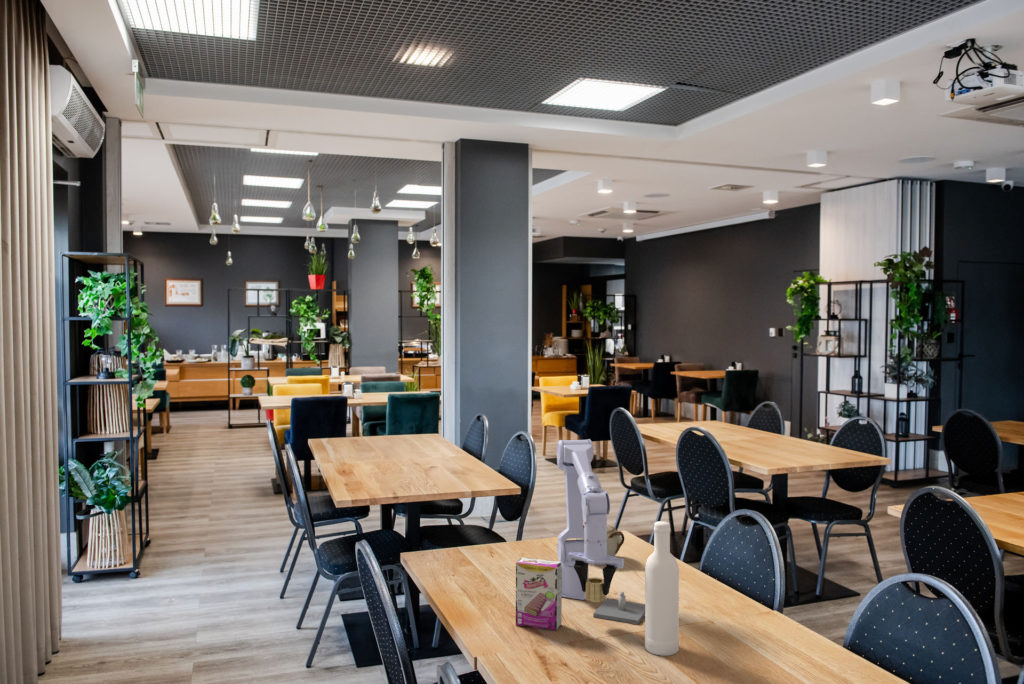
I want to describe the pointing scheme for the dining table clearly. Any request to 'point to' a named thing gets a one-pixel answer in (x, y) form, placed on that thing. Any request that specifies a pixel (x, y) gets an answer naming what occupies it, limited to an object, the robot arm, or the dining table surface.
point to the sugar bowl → (612, 540)
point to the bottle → (662, 595)
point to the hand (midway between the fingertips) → (595, 592)
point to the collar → (594, 589)
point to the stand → (621, 610)
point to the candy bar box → (538, 593)
